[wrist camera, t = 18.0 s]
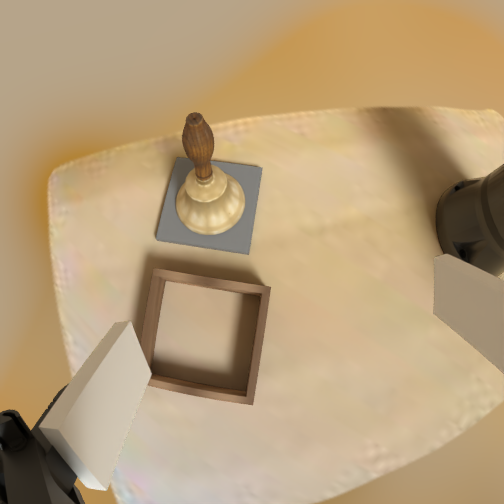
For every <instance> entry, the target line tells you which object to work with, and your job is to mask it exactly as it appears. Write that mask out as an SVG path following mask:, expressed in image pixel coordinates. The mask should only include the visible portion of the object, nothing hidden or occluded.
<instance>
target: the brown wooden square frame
mask: <svg viewBox="0 0 504 504" xmlns="http://www.w3.org/2000/svg"><path fill="white" fill-rule="evenodd" d="M166 281H171V282H177V283H183V284H188V285H194V286H200V287H206V288H212V289H218V290H224V291H231V292H237V293H243V294H250V295H257V296H260V303H259V310H258V316H257V323H256V330H255V336H254V343H253V349H252V356H251V362H250V369H249V375H248V381H247V388H246V391H241V390H234V389H228V388H221V387H216V386H210V385H204V384H199V383H194V382H189V381H184V380H179V379H174V378H169V377H165V376H161V375H156V374H152V375H151V377H150V380H149V382H148V386H152V387H157V388H161V389H165V390H169V391H174V392H179V393H183V394H188V395H193V396H199V397H204V398H209V399H215V400H221V401H227V402H234V403H241V404H248V405H253V402H254V395H255V389H256V383H257V377H258V370H259V364H260V358H261V351H262V344H263V338H264V331H265V325H266V318H267V311H268V304H269V297H270V290H271V287H269V286H262V285H255V284H249V283H242V282H236V281H229V280H223V279H217V278H211V277H204V276H198V275H192V274H186V273H180V272H175V271H169V270H163V269H157V268H154V269H153V274H152V279H151V284H150V290H149V295H148V301H147V306H146V312H145V318H144V324H143V330H142V337H141V344H140V346H141V349H142V351H143V354H144V356H145V359H146V361H147V364H148V366H149V368H150V371H151V369H152V362H153V354H154V347H155V341H156V334H157V328H158V322H159V316H160V310H161V304H162V298H163V293H164V287H165V282H166Z"/></svg>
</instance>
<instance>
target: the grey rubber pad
mask: <svg viewBox="0 0 504 504" xmlns="http://www.w3.org/2000/svg"><path fill="white" fill-rule="evenodd" d="M210 162H211V165H214V166H217V167H219V168H220V169H221V170H222V171H223V172H224V173H226V174H228V175H230V176H232V177H233V178H234V179H236V180H237V181H238V182H239V184H240V185H241V187H242V189H243V191H244V194H245V208H244V212H243V214H242V216H241V218H240V219H239V221H238V222H237V223H236V224H235V225H234V226H233V227H232V228H230V229H229V230H227V231H225V232H223V233H220V234H216V235H202V234H198V233H195V232H193V231H191V230H190V229H188V228H187V227H186V226H185V225H184V224H183V223H182V222H181V220H180V219H179V217H178V215H177V211H176V198H177V194H178V192H179V190H180V188H181V186H182V185H183V184H184V183H185V180H186V177H187V175H188V174H189V172H190V171H191V170H193V169H194V168H195V167H194V163H193V162H192V161H191V160H190V159H189V158H180V157H177V159H176V162H175V166H174V169H173V173H172V176H171V180H170V184H169V187H168V191H167V195H166V199H165V203H164V207H163V211H162V215H161V219H160V223H159V227H158V231H157V236H156V240H157V241H163V242H169V243H176V244H182V245H189V246H195V247H202V248H208V249H215V250H221V251H228V252H234V253H241V254H247V255H249V251H250V244H251V238H252V232H253V225H254V219H255V212H256V206H257V200H258V193H259V187H260V180H261V174H262V168H261V167H255V166H248V165H240V164H233V163H225V162H217V161H210Z"/></svg>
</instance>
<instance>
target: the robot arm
mask: <svg viewBox="0 0 504 504" xmlns="http://www.w3.org/2000/svg"><path fill="white" fill-rule="evenodd" d="M436 227H437V233H438V238H439V241H440V244H441V247H442V250H443V252H444V255H440V256H436V257H434V310H433V314H435V315H436V316H437V317H438V318H439V319H441V320H442V321H443V322H444V323H446V324H447V325H448V326H449V327H450V328H452V329H453V330H454V331H455V332H456V333H458V334H459V335H460V336H461V337H462V338H464V339H465V340H466V341H467V342H468V343H469V344H471V345H472V346H473V347H474V348H475V349H476V350H477V351H479V352H480V353H481V354H482V355H483V356H484V357H486V358H487V359H488V360H489V361H490V362H491V363H492V364H493V365H495V366H496V367H497V368H498V369H499V370H500V371H501V372H502V373H503V374H504V281H503V280H501V279H499V278H497V277H498V276H499V275H500V274H502V273H503V272H504V164H503V165H501V166H500V167H499V168H497V169H496V170H494V171H493V172H492V173H491V174H489V175H488V176H486V177H481V178H475V179H469V180H464V181H460V182H458V183H456V184H454V185H453V186H452V187H450V188H449V189H448V190H446V191H445V192H444V194H443V195H442V196H441V198H440V200H439V203H438V206H437V212H436ZM151 375H152V373H151V371H150V368H149V366H148V364H147V361H146V359H145V356H144V354H143V351H142V349H141V346H140V344H139V341H138V339H137V336H136V333H135V331H134V328H133V325H132V323H131V321H124V322H118V323H115V324H114V325H113V326H112V328H111V329H110V330H109V331H108V333H107V334H106V335H105V337H104V338H103V339H102V340H101V342H100V343H99V344H98V346H97V347H96V348H95V350H94V351H93V352H92V353H91V355H90V356H89V357H88V359H87V360H86V361H85V363H84V364H83V365H82V367H81V368H80V369H79V371H78V372H77V373H76V375H75V376H74V378H73V379H72V380H71V382H70V383H69V384H68V385H66V386H65V387H64V388H63V389H61V390H60V391H59V392H58V394H57V395H56V396H55V398H54V399H53V402H51V403H50V405H49V406H48V409H46V410H45V412H44V413H43V414H42V416H41V417H40V419H39V420H38V422H37V423H36V424H35V426H34V427H33V429H32V430H30V429H29V428H28V426H27V425H26V423H25V422H24V420H23V419H22V417H21V416H20V414H19V413H18V412H17V411H15V410H6V411H2V412H1V413H0V504H85V502H84V500H83V498H82V496H81V493H80V491H79V490H78V489H77V487H76V486H75V485H74V483H75V481H76V479H77V477H78V478H79V479H80V480H81V482H82V483H83V484H84V485H85V486H86V487H87V488H92V489H98V490H105V491H106V490H107V489H108V486H109V483H110V480H111V478H112V475H113V472H114V469H115V467H116V464H117V461H118V459H119V456H120V453H121V451H122V448H123V445H124V443H125V440H126V438H127V435H128V432H129V430H130V427H131V425H132V422H133V420H134V417H135V414H136V412H137V409H138V407H139V404H140V402H141V399H142V397H143V395H144V392H145V390H146V387H147V385H148V382H149V380H150V377H151Z"/></svg>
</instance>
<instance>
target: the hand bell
mask: <svg viewBox="0 0 504 504" xmlns="http://www.w3.org/2000/svg"><path fill="white" fill-rule="evenodd" d="M182 142H183V146H184V149H185V152H186V154H187V156H188V158H189V159H190V160H191V161H192V162H193V163H194V167H195V168H194V169H193V170H191V171H190V172H189V174H188V175H187V177H186V180H185V183H184V184H183V185H182V186H181V188H180V190H179V192H178V194H177V198H176V211H177V215H178V217H179V219H180V220H181V222H182V223H183V224H184V225H185V226H186V227H187V228H188V229H190V230H191V231H193V232H195V233H198V234H202V235H216V234H220V233H223V232H225V231H227V230H229V229H230V228H232V227H233V226H234V225H235V224H236V223H237V222H238V221H239V219H240V218H241V216H242V214H243V212H244V208H245V194H244V191H243V189H242V187H241V185H240V184H239V182H238V181H237V180H236V179H234V178H233V177H232V176H230V175H228V174H226V173H224V172H223V171H222V170H221V169H220V168H219V167H217V166H214V165H211V162H210V159H211V157H212V154H213V151H214V137H213V133H212V130H211V128H210V127H209V125H208V124H207V123H206V122H205V120H204V118H203V116H202V115H201V114H200V113H191V114H189V115H188V116H187V118H186V124H185V127H184V130H183V135H182Z"/></svg>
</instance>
